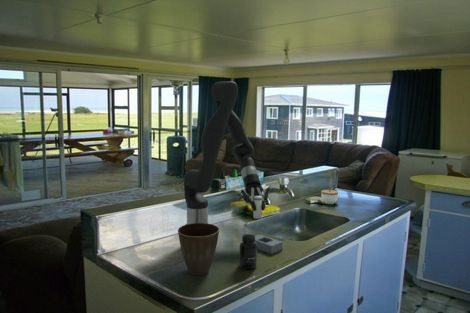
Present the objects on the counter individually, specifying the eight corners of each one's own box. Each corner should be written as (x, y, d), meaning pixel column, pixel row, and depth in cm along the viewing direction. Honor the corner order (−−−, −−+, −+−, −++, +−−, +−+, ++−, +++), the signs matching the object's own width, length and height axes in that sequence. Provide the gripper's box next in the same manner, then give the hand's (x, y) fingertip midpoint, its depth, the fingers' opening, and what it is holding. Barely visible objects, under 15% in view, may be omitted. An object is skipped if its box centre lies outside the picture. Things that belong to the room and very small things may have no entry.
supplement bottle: (251, 272, 133) (251, 240, 131) (235, 267, 136) (235, 237, 135) (260, 265, 139) (260, 235, 137) (244, 261, 142) (245, 231, 141)
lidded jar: (320, 200, 241) (320, 187, 240) (336, 201, 240) (337, 187, 239) (321, 204, 231) (322, 190, 230) (338, 205, 229) (339, 191, 228)
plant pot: (219, 280, 126) (219, 235, 124) (176, 281, 125) (176, 236, 123) (218, 262, 141) (218, 222, 139) (179, 263, 140) (179, 223, 138)
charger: (257, 219, 158) (258, 197, 157) (251, 217, 161) (252, 196, 160) (263, 217, 161) (263, 196, 160) (256, 215, 163) (257, 195, 162)
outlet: (272, 254, 150) (272, 246, 149) (248, 245, 159) (248, 238, 158) (282, 249, 155) (282, 241, 154) (259, 241, 164) (259, 234, 163)
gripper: (238, 173, 164) (246, 206, 153) (267, 172, 168) (276, 204, 158) (234, 182, 169) (242, 215, 159) (262, 181, 173) (271, 213, 163)
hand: (259, 209), depth 158 cm, fingers closed on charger, 3 cm apart
